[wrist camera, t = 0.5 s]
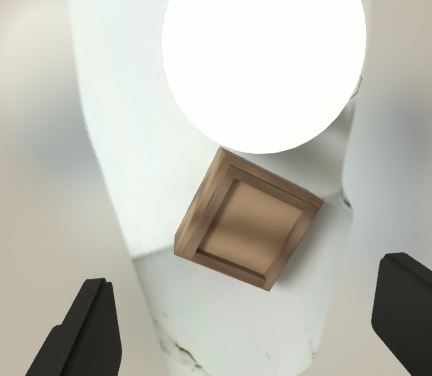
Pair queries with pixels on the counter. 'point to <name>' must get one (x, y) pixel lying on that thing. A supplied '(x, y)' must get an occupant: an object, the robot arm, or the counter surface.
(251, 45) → the cylindrical container
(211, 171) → the tray
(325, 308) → the counter surface
